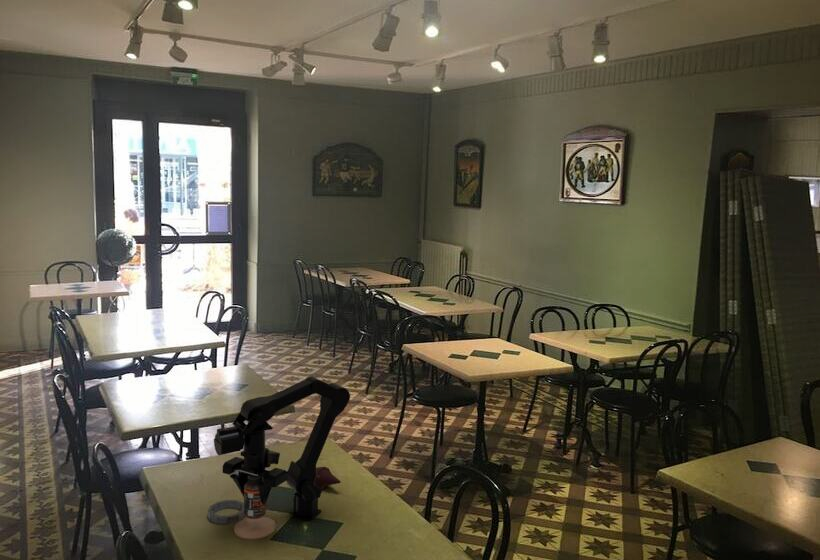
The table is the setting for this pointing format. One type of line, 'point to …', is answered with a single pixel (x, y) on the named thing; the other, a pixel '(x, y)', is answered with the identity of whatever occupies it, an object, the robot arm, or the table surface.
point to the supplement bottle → (253, 498)
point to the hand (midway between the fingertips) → (255, 500)
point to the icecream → (325, 478)
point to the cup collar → (223, 505)
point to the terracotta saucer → (254, 528)
